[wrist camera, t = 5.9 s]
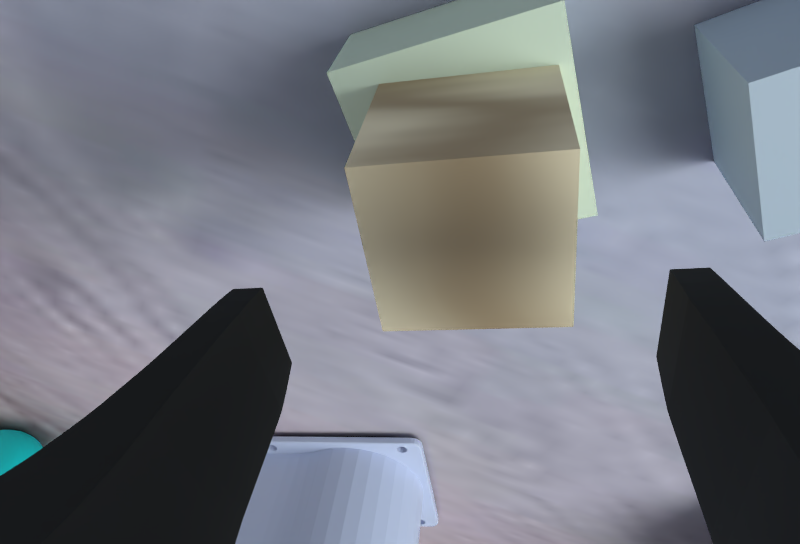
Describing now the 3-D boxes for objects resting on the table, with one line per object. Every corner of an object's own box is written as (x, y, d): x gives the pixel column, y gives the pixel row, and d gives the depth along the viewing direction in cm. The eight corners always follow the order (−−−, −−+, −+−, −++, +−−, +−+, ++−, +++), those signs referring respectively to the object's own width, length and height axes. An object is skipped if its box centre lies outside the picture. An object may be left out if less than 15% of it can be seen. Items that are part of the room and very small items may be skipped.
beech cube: (404, 228, 18) (382, 331, 14) (379, 83, 15) (344, 167, 12) (556, 219, 17) (573, 327, 13) (558, 64, 14) (580, 148, 11)
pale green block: (412, 196, 21) (400, 253, 18) (352, 31, 18) (326, 72, 15) (583, 158, 19) (597, 215, 17) (552, -34, 16) (564, -1, 13)
